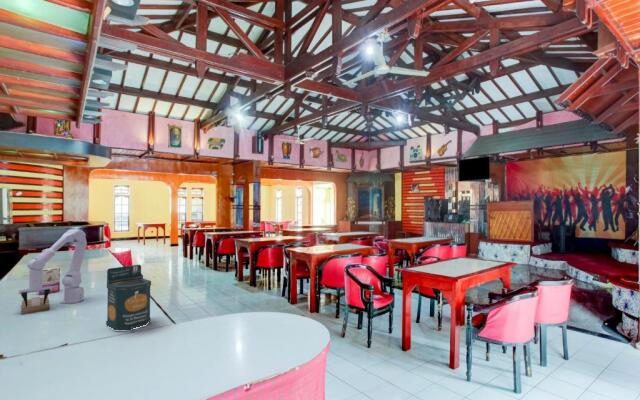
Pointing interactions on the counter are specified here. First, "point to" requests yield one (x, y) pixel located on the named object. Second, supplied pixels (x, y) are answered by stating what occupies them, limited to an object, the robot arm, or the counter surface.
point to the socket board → (34, 309)
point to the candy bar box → (51, 280)
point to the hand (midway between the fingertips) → (35, 304)
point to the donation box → (127, 298)
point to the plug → (35, 301)
